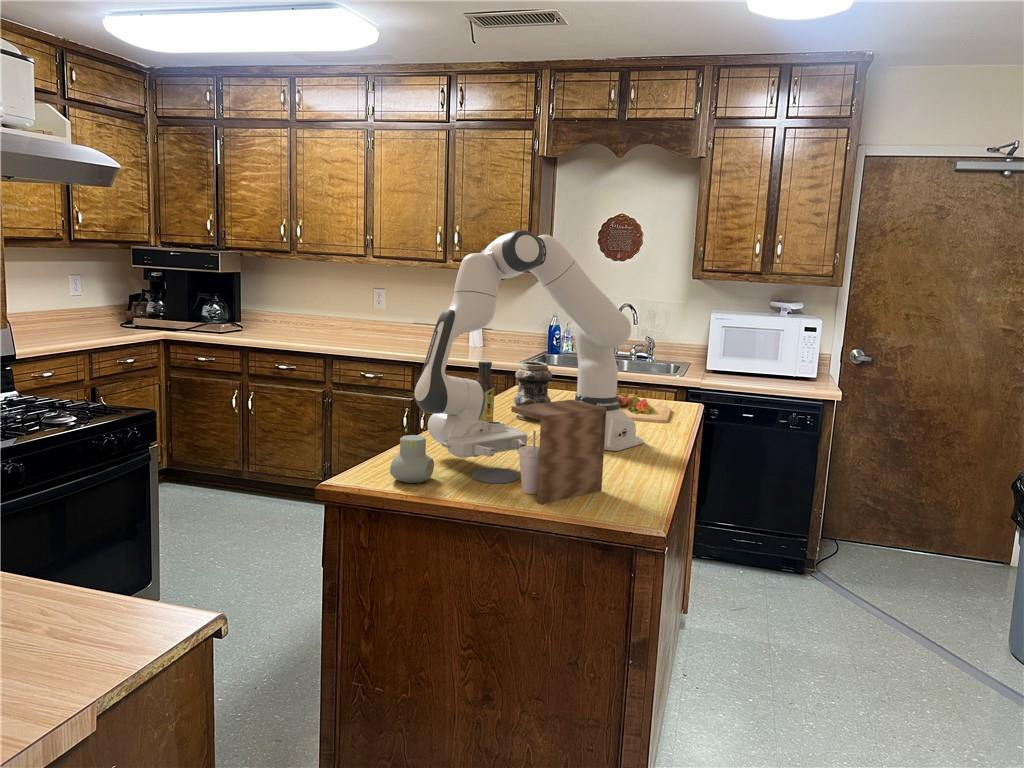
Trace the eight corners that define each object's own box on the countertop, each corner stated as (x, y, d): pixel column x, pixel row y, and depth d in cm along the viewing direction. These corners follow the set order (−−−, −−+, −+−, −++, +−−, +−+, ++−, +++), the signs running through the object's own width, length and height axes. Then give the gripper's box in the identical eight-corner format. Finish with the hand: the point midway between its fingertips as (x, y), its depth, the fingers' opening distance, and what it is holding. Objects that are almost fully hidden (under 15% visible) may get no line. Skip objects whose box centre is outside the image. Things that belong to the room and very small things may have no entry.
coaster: (499, 468, 194) (499, 465, 194) (528, 479, 185) (528, 476, 185) (463, 474, 187) (463, 472, 187) (490, 486, 178) (490, 483, 178)
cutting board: (671, 412, 277) (672, 391, 276) (666, 425, 255) (668, 402, 253) (573, 403, 286) (574, 383, 284) (560, 415, 263) (561, 393, 262)
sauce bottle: (490, 429, 236) (492, 363, 233) (470, 427, 237) (472, 362, 234) (495, 424, 242) (497, 360, 239) (475, 422, 244) (477, 359, 240)
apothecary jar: (557, 420, 253) (560, 364, 250) (527, 423, 246) (529, 366, 243) (535, 412, 263) (538, 359, 260) (505, 415, 256) (507, 361, 253)
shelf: (568, 478, 187) (572, 399, 184) (601, 490, 178) (606, 408, 175) (508, 490, 176) (511, 406, 173) (540, 504, 167) (544, 415, 164)
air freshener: (422, 488, 175) (423, 444, 173) (387, 485, 176) (387, 441, 175) (435, 475, 186) (437, 434, 184) (402, 472, 187) (403, 431, 185)
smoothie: (524, 496, 172) (527, 434, 169) (511, 488, 177) (513, 428, 175) (549, 493, 175) (553, 432, 172) (535, 485, 180) (538, 426, 178)
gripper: (437, 429, 185) (471, 442, 174) (506, 421, 198) (541, 432, 187) (437, 455, 186) (470, 469, 175) (505, 445, 199) (540, 458, 188)
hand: (508, 450), depth 181 cm, fingers open, 8 cm apart
